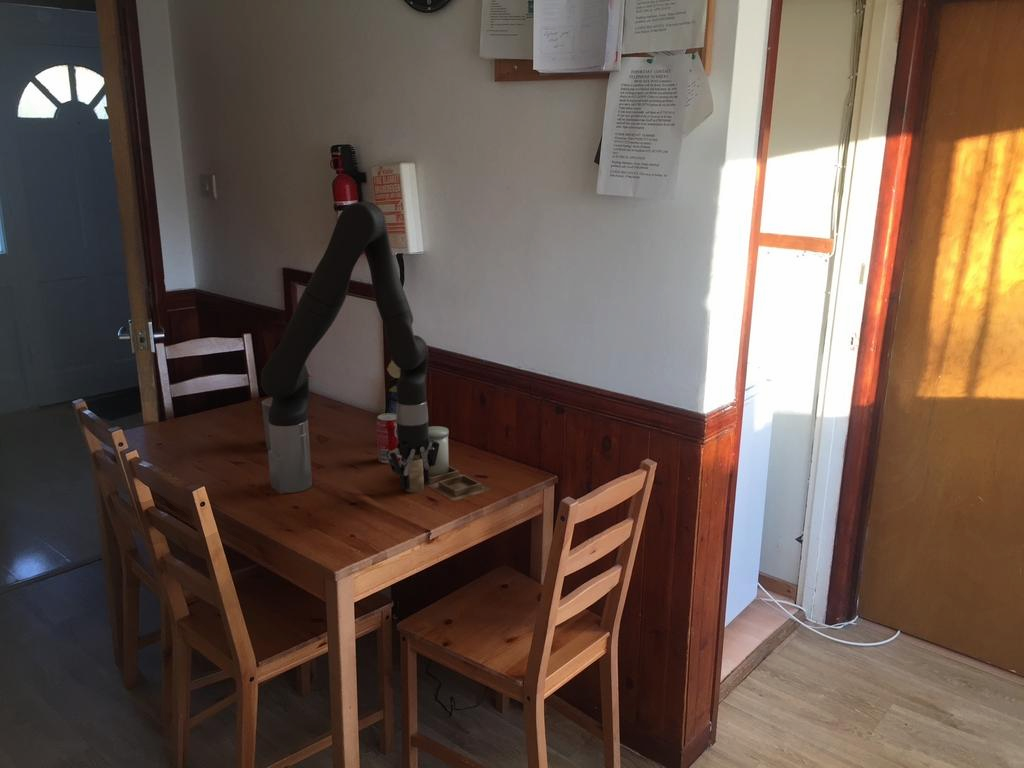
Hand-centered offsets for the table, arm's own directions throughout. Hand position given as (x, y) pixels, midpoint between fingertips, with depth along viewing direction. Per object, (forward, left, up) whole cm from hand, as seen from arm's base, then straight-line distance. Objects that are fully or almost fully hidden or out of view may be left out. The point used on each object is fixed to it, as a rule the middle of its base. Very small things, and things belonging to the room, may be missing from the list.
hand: (414, 485), depth 206 cm
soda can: (+6, +22, -2) cm, 23 cm away
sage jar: (+9, +5, -1) cm, 10 cm away
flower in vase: (+18, +32, -2) cm, 37 cm away
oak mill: (0, 0, -2) cm, 2 cm away
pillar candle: (-12, +52, -2) cm, 53 cm away
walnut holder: (+9, -1, -2) cm, 9 cm away
